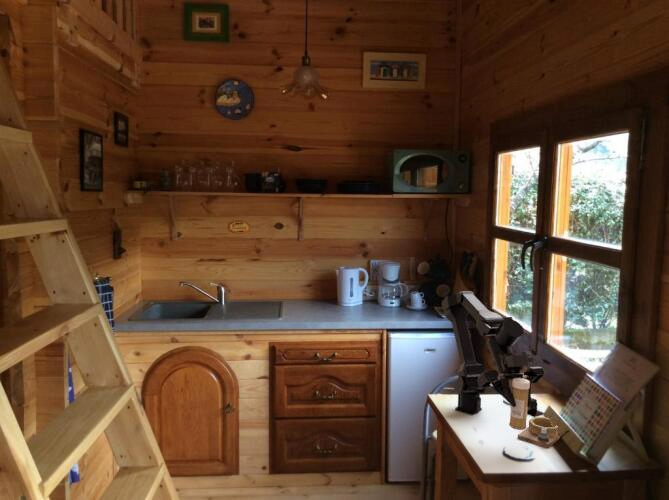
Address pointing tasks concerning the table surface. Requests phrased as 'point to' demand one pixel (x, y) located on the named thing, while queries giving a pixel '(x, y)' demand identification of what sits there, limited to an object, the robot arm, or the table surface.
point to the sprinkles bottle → (519, 403)
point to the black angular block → (533, 409)
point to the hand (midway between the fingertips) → (522, 405)
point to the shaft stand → (540, 432)
